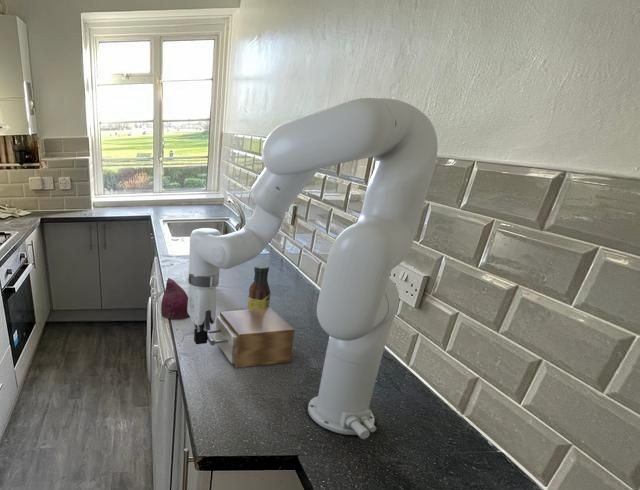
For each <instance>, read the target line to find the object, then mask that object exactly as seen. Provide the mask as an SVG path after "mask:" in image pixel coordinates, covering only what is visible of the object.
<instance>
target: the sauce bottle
mask: <svg viewBox="0 0 640 490" xmlns="http://www.w3.org/2000/svg"><path fill="white" fill-rule="evenodd" d="M253 271H254V277H253V282H252V283H251V284H250V286H249V290H248V297H247V309H258V308H269V307H270V304H271V303H270V301H271V289H270V286H269V282H268V275H269V271H270V267H269V266H268V265H266V264H257V265H254V268H253Z"/></svg>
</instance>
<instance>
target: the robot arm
mask: <svg viewBox="0 0 640 490" xmlns="http://www.w3.org/2000/svg"><path fill="white" fill-rule="evenodd" d="M438 146H439V143H438V137H437V133H436V129H435V127H434V125H433V123H432V121H431V119H430V118H429V117H428V116H427V115H426V114H425V113H424V112H423V111H421V110H420V109H419V108H417V107H416V106H413V104H410V103H408V102H406V101H402V100H400V99H395V98H386V97H385V98H384V97H382V98H377V97H361V98H356V99H352V100H349V101H345V102H341V103H340V104H336V105H333V106H331V107H327V108H325V109H322V110H319V111H316V112H313V113H311V114H310V113H309V114H307V115H303V116H301V117H299V118H295V119H293V120H289V121H286V122H284V123H282V124H280V125H278V126H276V127H275V128H274V129H273V130H272V131H271V132H270V133H269V134H268V135H267V137H266V139H265V140H264V142H263V145H262V149H261V161H262V164H263V166H264V169H263V170H262V171H261V173H260V175H259V176H258V177H257V179H256V181H254V183H253V185H252V186H251V188H250V193H249V194H250V197H251V200H252V201H253V203H254V204H255V208H254V211H253V213H251V216H250V217H249V218H248V220H247V221H246V223H245V224H244V225H243V227H242V228H241V229H238V230H236V231H233V232H230V233H226V234H222V233H221V232H220V231H219V230H218V229H216V228H210V227H201V228H196V229H193V230H192V232H191V233H190V236H189V254H188V255H189V256H188V257H189V259H188V262H189V263H188V286H189V288H188V294H187V296H188V305H187V312H188V314H189V317H190V319H191V320H192V322H193V325H194V329H193V342H194V344H195V345H204V344H205V345H206V344H207V343H208V340H207V335H208V331H211V325H214V324H215V323H216V317H217V315H216V314H217V287H219V283H220V282H219V281H220V269H222V270H229V269H232V268H235V267H237V266H240V265H241V264H244V263H246V262H249V261H251V260H254V259H255V258H256V257H258V256H259V255H261V253H262V252H264V250H265V249H266V248H267V246H268V245H269V244H270V243H271V242H272V240H273V239H274V238H275V236H276V235H277V233H278V232H279V231H280V228H281V227H282V224H283V222H284V219H285V217H286V213H287V211H288V210H289V208H290V207H291V206H292V204H293V203H294V202H295V201H296V199H297V198H298V197H299V195H300V194H301V193H302V191H303V190H304V189H305V188H306V186H307V185H308V184H309V183H310V182H311V180H312V179H313V178H314V177H315V175H316V174H317V173H318V172H319V170H320V169H322V168H327V167H333V166H335V165H340V164H344V163H349V162H354V161H358V160H363V159H369V158H373V159H374V162H375V163H374V169H373V172H372V173H371V177H370V178H369V181H368V184H367V185H366V186H367V187H366V189H365V195H364V200H363V204H362V208H361V211H360V213H359V217H358V219H357V221H356V222H355V223H352V224H351V225H349V226H347V227H346V228H345V229H343V230H342V231H340V233H339V234H338V235H337V237H336V238H335V239H334V241H333V243H332V245H331V247H330V249H329V253H328V255H327V260H326V263H325V268H324V272H323V276H322V281H321V286H320V290H319V295H318V298H317V303H316V304H317V305H316V317H317V321H318V323H319V325H320V327H321V328H322V330H323V331H324V332H325V333H326V334H327V335H328V336H329V337H328V342H327V346H326V351H325V356H324V362H323V367H322V372H321V377H320V383H319V390H318V394H317V395H316V396H314V397H313V398H311V399H310V401H309V402H308V404H307V413H308V415H309V416H310V418H311V419H312V420H313V421H314V422H315V423H316V424H318V425H319V426H320V427H322V428H324V429H325V430H329V431H330V432H333V433H337V434H340V435H346V436H358V437H359V438H360V439H362V440H364V439H367V438H369V436H370V435H371V433H374V432H376V431H377V426H375V422H376V421H375V420H376V419H375V415H374V414H373V411H372V410H371V409H370V405H371V401H372V397H373V393H374V389H375V385H376V382H377V378H378V375H379V370H380V366H381V362H382V359H383V355H384V351H385V347H386V343H387V340H388V337H389V334H390V331H391V329H392V326H393V322H394V320H395V317H396V314H397V311H398V308H399V304H400V303H399V302H400V292H399V290H398V287H397V285H396V283H395V282H394V281H393V279H391V278H390V276H391V274H392V271H393V269H395V268H396V267H398V266H399V265H400V264H401V263H403V262H404V260H405V259H406V258H407V257H408V256H409V254H410V252H411V250H412V248H413V243H414V240H415V235H416V231H417V228H418V225H419V222H420V219H421V215H422V212H423V209H424V206H425V203H426V198H427V195H428V192H429V188H430V185H431V183H432V182H431V181H432V178H433V175H434V171H435V169H436V164H437V163H436V162H437V158H438Z"/></svg>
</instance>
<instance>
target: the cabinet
mask: <svg viewBox="0 0 640 490" xmlns="http://www.w3.org/2000/svg"><path fill="white" fill-rule="evenodd" d="M219 316H221V317H222V318H223V319H224V320H225V322H227V324H228V325H229V326H230V327H231V328H232V330H233V331H234V332H235V333H236V335H237V336H238V341H237V354H236V363H234V364H233V365H234V366H235V368H244V367H245V368H246V367H255V366H265V365H274V364H286V363H291V358H292V351H293V345H294V337H295V331H296V329H295V327H293V326H292V325H290V324H289V323H288V322H287V321H286V320H285V319H283V317H281V316H280V315H279V314H278V313H277V312H276V311H275V310H273V309H272V308H271V307H270V306H269V308H258V309H248V308H246V309H237V310H226V311H220V312H219Z"/></svg>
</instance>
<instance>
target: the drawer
mask: <svg viewBox="0 0 640 490" xmlns="http://www.w3.org/2000/svg"><path fill="white" fill-rule="evenodd" d="M211 334H215V339H214V338H213V337H212V335H211ZM237 341H238V337H237V335H236V333H235V332H234V331H233V330H232V328H231V327H230V326H229V325H228V324H227V322H225V320H224V319H223V318H222V317H221V316H220V315H216V318H215V329H212V330H211V329H210V331H208V335H207V342H208V343H209V344H210V346H216V345H215V344H217V345H218V346H219V349H221V352H223V354H224V355H225V357H226V358H227V360H228V361H229V363H230V364H232V365H234V363H236V354H237Z"/></svg>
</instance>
